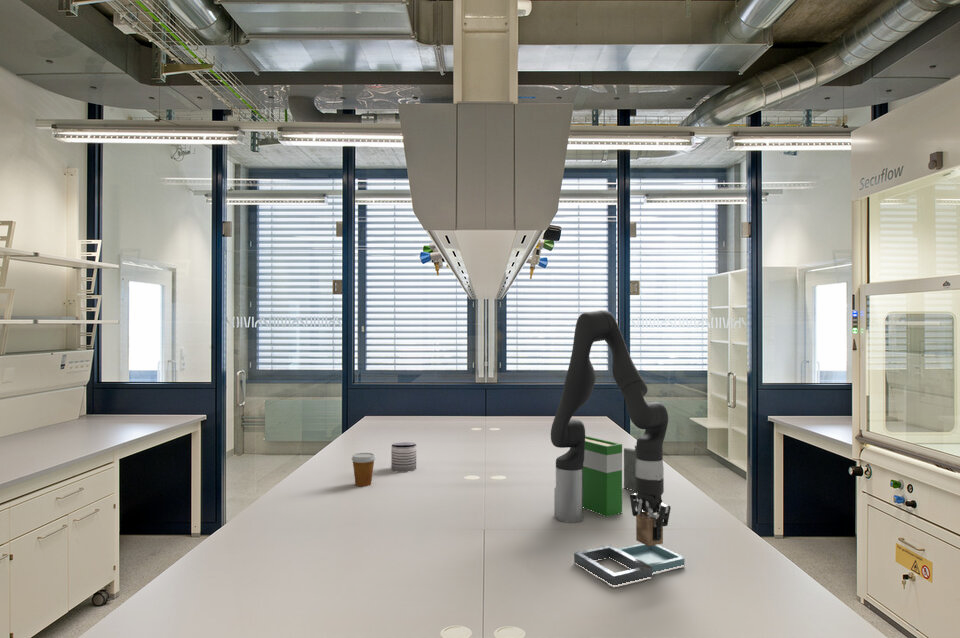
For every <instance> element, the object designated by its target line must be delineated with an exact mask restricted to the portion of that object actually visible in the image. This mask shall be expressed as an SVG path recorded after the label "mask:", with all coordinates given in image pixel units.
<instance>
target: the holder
mask: <svg viewBox="0 0 960 638" xmlns="http://www.w3.org/2000/svg"><path fill="white" fill-rule="evenodd" d="M573 555H574V559H573V560H574V561H573V563H574V562H575V563H577V564H578V565H580V566H582V567H584V568H585V569H587V570H588V571H590V572H592V573H593V574H595V575H597V576H598V577H600V578H602V579H604V580H605V581H607V582H608V583H610V584H612V585H618V584H622V583H626V582H630V581H635V580H639V579H643V578H647V577H651V576H652V577H653V575H652V567H650V566H649V565H647V564H645V563H643V562H641V561H639V560H637V559H635V558H634V557H632V556H630V555H628V554H626V553H624V552H622V551H620V550H619V549H617V548H616V547H614V546H613V545H610V544H609V545H606V546H599V547H595V548H590V549H585V550H581V551H575V552H574V554H573ZM609 557H610V558H612V559H614V560H616V561H618V562H620V563H622V564H624V565H626V566H627V567H629V568H631V569H630V570H629V569H627V570H626V569H625V570H623V571H618V572H614V571H612V570H610V569H608V568H607V567H605V566H603V565H602V564H600V563H599V562H598V561H593V560H598V559H604V558H609ZM610 558H609V559H610ZM612 559H611V560H612Z"/></svg>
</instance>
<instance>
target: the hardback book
mask: <svg viewBox="0 0 960 638" xmlns="http://www.w3.org/2000/svg"><path fill="white" fill-rule="evenodd" d="M583 507H584V508H586V509H585V510H587V509H589V510H592V511H594V512H593V513H595V512H597V513H600V514H602V515H601V516H603V515H605V516H609V517H611V516H610V515H613V516H615V515H614V514H617V515H619V514H618V513H621V512H622V513H623V444H622V443H618V442H614V441H611V440H607V439H601V438H598V437H597V438H596V437H592V436H587V435H585V453H584V463H583ZM584 508H583V509H584ZM589 510H588V511H589ZM592 511H591V512H592ZM597 513H596V514H597ZM622 513H621V514H622ZM600 514H599V515H600ZM605 516H604V517H605Z"/></svg>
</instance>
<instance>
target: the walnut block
mask: <svg viewBox="0 0 960 638" xmlns="http://www.w3.org/2000/svg"><path fill="white" fill-rule="evenodd" d="M653 514H654V515H656V513H653ZM635 517H636V518H635V529H636V531H635V532H636V534H635V535H636V536H635V537H636V539H635V541H637V542H639V543H640V544H641V543H643V544H645V545H647V546H654V545H663V544H664V526H663V527H661V539H660V540H659V541H654V540H653V523H652V519H651V518H650V517H649V513H648V514H642V515H636V516H635ZM656 522H658V519H657V518H656Z"/></svg>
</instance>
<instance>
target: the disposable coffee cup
mask: <svg viewBox="0 0 960 638" xmlns="http://www.w3.org/2000/svg"><path fill="white" fill-rule="evenodd" d="M375 460H376V456H375V454H374V453H373V452H358V453H354V454H353V455H352V457H351V461H352V467H353V474H354V475H353V476H354V483H355V484H354V485H355V486H356V485H357V486H356V487H369V486H371V485H372V481H373V472H374V467H375V466H374V464H375ZM368 485H369V486H368Z"/></svg>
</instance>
